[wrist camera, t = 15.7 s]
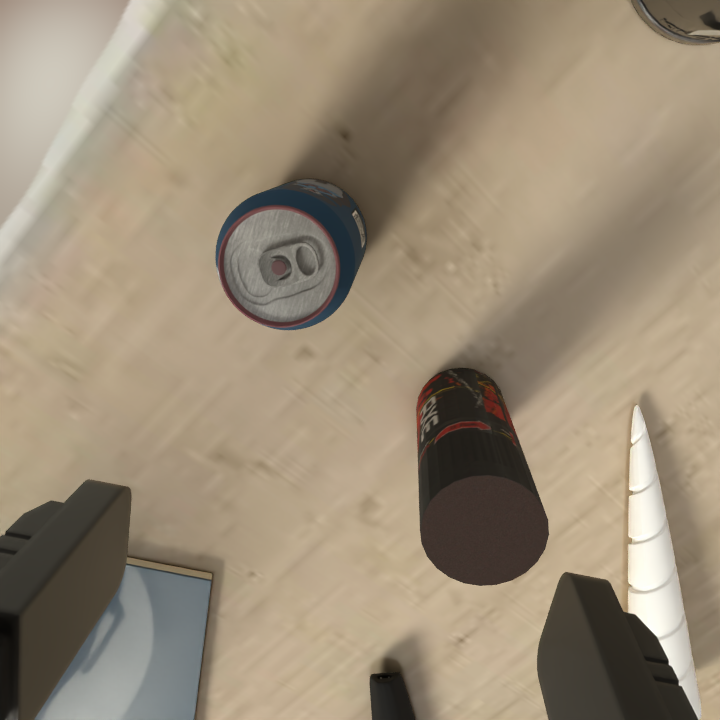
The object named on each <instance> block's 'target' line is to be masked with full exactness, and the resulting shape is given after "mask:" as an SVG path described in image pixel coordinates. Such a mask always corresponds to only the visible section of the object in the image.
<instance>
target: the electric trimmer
mask: <svg viewBox="0 0 720 720" xmlns="http://www.w3.org/2000/svg"><path fill="white" fill-rule="evenodd" d="M370 695H371V710H372V720H415V717H414V714H413V711H412V707H411V704H410V701H409V698H408V694H407V691H406V688H405V685H404V681H403V679H402V676H401V674H400V673H399V672H393V673H379V674H372V675H371V676H370Z"/></svg>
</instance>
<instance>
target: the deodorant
mask: <svg viewBox="0 0 720 720" xmlns="http://www.w3.org/2000/svg"><path fill="white" fill-rule="evenodd" d="M416 411H417V444H418V477H419V510H420V533H421V542H422V545H423V548H424V550H425V552H426V555H427V557H428V558H429V559H430V560H431V562H432V563H433V564H434V565H435V566H436V568H437V569H439V570H440V571H442V572H443V573H444V574H446V575H447V576H448V577H450V578H453V579H455V580H458V581H460V582H463V583H467V584H473V585H479V586H483V585H497V584H501V583H504V582H508V581H511V580H513V579H515V578H517V577H519V576H521V575H522V574H524V573H526V572H527V571H528V570H529V569H530V568H531V567H532V566H533V565H534V564H535V563H537V561H538V560H539V558H540V556H541V555H542V553H543V551H544V550H545V547H546V543H547V540H548V536H549V530H548V519H547V516H546V513H545V511H544V508H543V505H542V502H541V500H540V497H539V494H538V492H537V489H536V486H535V483H534V481H533V478H532V475H531V472H530V470H529V467H528V464H527V462H526V459H525V456H524V453H523V451H522V448H521V445H520V443H519V440H518V437H517V434H516V432H515V429H514V426H513V423H512V421H511V418H510V415H509V413H508V410H507V407H506V404H505V402H504V399H503V396H502V394H501V391H500V389H499V388H498V386H497V385H496V384H495V382H494V381H493V380H491V379H490V378H489V377H488V376H486V375H485V374H483V373H481V372H478V371H476V370H472V369H466V368H458V369H450V370H447V371H444V372H442V373H439V374H438V375H436V376H435V377H433V378H432V379H430V380H429V382H428V383H427V384H426V385H425V386H424V387H423V389H422V391H421V393H420V395H419V397H418V402H417V407H416Z"/></svg>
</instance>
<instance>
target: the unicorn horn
mask: <svg viewBox="0 0 720 720" xmlns="http://www.w3.org/2000/svg"><path fill="white" fill-rule="evenodd" d="M631 442H632V444H633V446H632V447H631V448H630V470H629V490H631V491H633V495H631V496H629V517H628V537H631V538H632V543H629V544H628V583H629V584H631V585H632V586H630V587H629V588H628V613H631V614H635V615H636V616H637V617H638V618H639V619H640V620H641V621H642V622H643V623H644V624H645V625H646V626H647V627H648V628H649V629H650V630H651V631H652V632H653V633H654V634H655V635H656V636H657V638H658V640H659V642H660V644H661V646H662V648H663V650H664V652H665V654H666V656H667V658H668V660H669V665H670V666H672V668H673V670H674V672H675V674H676V676H677V678H678V680H679V686H682V688H683V690H684V692H685V694H686V696H687V698H688V700H689V702H690V704H691V706H692V708H693V710H694V712H695V714H696V716H697V718H698V720H699V719H700V718H701V699H700V694H699V689H698V684H697V678H696V673H695V667H694V661H693V657H692V650H691V644H690V639H689V633H688V627H687V622H686V616H685V612H684V605H683V599H682V594H681V588H680V583H679V577H678V572H677V567H676V565H675V556H674V550H673V545H672V540H671V535H670V530H669V525H668V520H667V518H666V510H665V505H664V500H663V496H662V491H661V486H660V481H659V477H658V472H657V470H656V463H655V459H654V455H653V451H652V447H651V443H650V439H649V435H648V431H647V427H646V424H645V421H644V418H643V415H642V412H641V410H640V408H639V406H638V405H637V404H636V406H635V408H634V412H633V418H632V428H631Z"/></svg>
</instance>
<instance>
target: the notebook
mask: <svg viewBox="0 0 720 720" xmlns="http://www.w3.org/2000/svg"><path fill="white" fill-rule="evenodd" d="M211 583H212V573H207V572H202V571H196V570H191V569H186V568H181V567H176V566H170V565H165V564H160V563H155V562H150V561H145V560H139V559H134V558H129V557H127V562H126V567H125V571H124V575H123V578H122V581H121V583H120V586H119V588H118V590H117V592H116V594H115V595H114V597H113V599H112V600H111V602H110V603H109V605H108V606H107V608H106V609H105V611H104V612H103V614H102V616H101V617H100V619H99V620H98V622H97V623H96V625H95V626H94V628H93V629H92V631H91V633H90V634H89V636H88V637H87V639H86V640H85V642H84V643H83V645H82V646H81V648H80V650H79V651H78V653H77V654H76V656H75V657H74V659H73V660H72V662H71V663H70V665H69V667H68V668H67V670H66V671H65V673H64V674H63V676H62V677H61V679H60V680H59V682H58V684H57V685H56V687H55V688H54V690H53V691H52V693H51V694H50V696H49V697H48V699H47V701H46V702H45V704H44V705H43V707H42V708H41V710H40V711H39V713H38V714H37V716H36V718H35V719H34V720H195V712H196V704H197V696H198V688H199V680H200V672H201V663H202V655H203V647H204V639H205V631H206V623H207V615H208V607H209V599H210V591H211Z"/></svg>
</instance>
